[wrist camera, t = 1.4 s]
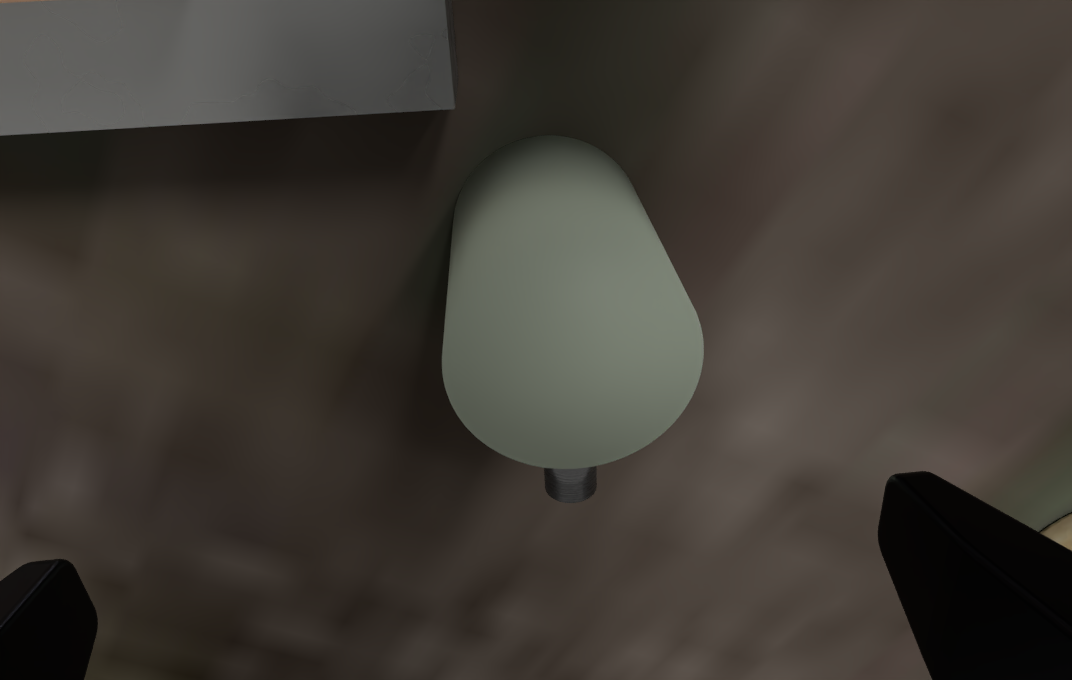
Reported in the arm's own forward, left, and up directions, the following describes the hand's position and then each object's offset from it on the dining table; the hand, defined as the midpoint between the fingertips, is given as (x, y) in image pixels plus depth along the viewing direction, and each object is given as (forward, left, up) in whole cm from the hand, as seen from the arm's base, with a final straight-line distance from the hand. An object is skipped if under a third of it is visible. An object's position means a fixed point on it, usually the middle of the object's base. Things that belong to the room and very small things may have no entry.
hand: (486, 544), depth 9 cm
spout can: (-2, +2, -13) cm, 14 cm away
